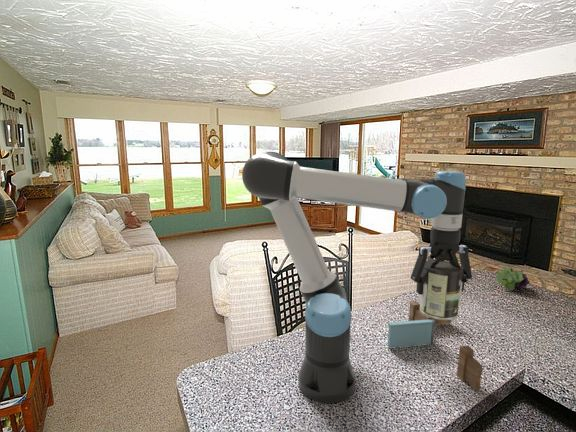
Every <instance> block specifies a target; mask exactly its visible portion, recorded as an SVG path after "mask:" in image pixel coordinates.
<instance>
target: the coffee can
mask: <svg viewBox="0 0 576 432" xmlns="http://www.w3.org/2000/svg"><path fill="white" fill-rule="evenodd" d="M427 261H428V260H426V263H427ZM426 263H425V264H426ZM424 269H426V270H428V278H427V280H426V282H425V283H426V284H427V293H426V305H425V306H422V305H421V304H420V303H419V304H420V311H421V312H422V313H423V314H424V315H426V316H428V317H431V318H434V319H438V320H451V321H452V320H455V319H457V318H458V316H459V314H458V313H459V306H460V304H459V296H460V286H461V277H462V271H463V268H462V267H461V265H460V266H459V267H455V266H453V265H451V264H450V262H449V261H446V260H445V261H440V262H439V263H438V264H437V265H436V266H435V267H434V268H428V267H427V266H425V265H424Z"/></svg>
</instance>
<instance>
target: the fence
mask: <svg viewBox="0 0 576 432" xmlns="http://www.w3.org/2000/svg"><path fill="white" fill-rule="evenodd" d="M428 319H433V320H435V326H436V325H445V324H446V325H447V324H448V325H449V324H451V323H452V320H438V319H434V318H431V317H428V316H426V315H424V314H423V313H422V312H421V311H420V303H418V301H410V302H409V313H408V321H415V320H428ZM458 351H459V352H458V362H457V371H456V376H457V378H458V379H460V380H461V381H462V382H467V383H468V385H469V386H470V387H472V389H474V391H480V390H481V388H480V387H481V380H482V375H483V374H482V373H483V365H482V364H481V363H480V362H479V361H478V360H476V358H474V354H475V353H474V352H475V350H474V349H472V348H471V347H470V346H469V345H462V346H461V345H460V347H459V350H458Z"/></svg>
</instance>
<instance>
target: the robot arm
mask: <svg viewBox="0 0 576 432" xmlns="http://www.w3.org/2000/svg"><path fill="white" fill-rule="evenodd" d="M466 177H467V176H466V174H465V173H464V172H462V171H454V170H453V171H452V170H443V171H442V170H438V171H436V172H435V174H434V178H404V177H402V178H390V177H389V178H388V177H380V176H375V175H374V176H373V175H367V174H360V173H359V174H358V173H351V172H350V173H349V172H343V171H342V172H341V171H336V170H328V169H320V168H313V167H307V166H301V165H299V163H298V161H294V160H289V159H287V157H285V155H283V154H281V153H279V152H275V151H267V152H260V153H257V154H256V153H255V154H254V155H252V156H251V157H249V158H248V159H247V160H246V162H245V163H244V166H243V167H242V173H241V178H242V183H243V185H244V187H245V189H246V190H247V191H248V192H249V193H250V194H252V195H253V196H255V197H257V198H258V199H259V202H260V204H261V206H262V207H264V208H266V209H268V210H269V211H270V214H271V216H272V218H273V220H274V222H275V225H276V226H277V229H278V231H279V234H280V235H281V237H282V240H283V242H284V245H285V247H286V250H287V251H288V254H289V256H290V258H291V260H292V262H293V265H294V267H295V270H296V271H297V274H298V276H299V278H300V281H301V284H300V286H299V291H300V293H301V295H302V298H303V300H304V302H305V310H304V318H305V336H304V338H305V340H304V341H305V346H304V348H305V352H304V353H305V354H304V357H303V361H302V363H301V365H300V369H299V372H298V387H299V389H300V390H301V392H302V393H303V394H304V395H305V396H306V397H308V398H309V399H311V400H313V401H316V402H319V403H322V404H323V403H324V404H336V403H341V402H343V401H346V400H347V399H349V398H350V397H351V396H352V395H353V393H354V392H355V388H356V377H355V372H354V369H353V366H352V363H351V359H350V350H351V346H350V345H351V323H352V318H353V316H352V311H351V310H352V309H351V305H350V303H349V302H348V296H347V293H346V290H345V287H343V285H342V284H341V283H340V281H339V279H338V277H337V275H336V273H335V272H334V271H331V270H329V269H328V267H327V264H326V262H325V259H324V257H323V255H322V252H321V250H320V248H319V245H318V242H317V240H316V238H315V236H314V234H313V231H312V229H311V226H310V225H309V222H308V220H307V218H306V216H305V213H304V211H303V208H302V206H301V204H300V202H299V199H306V200H313V201H319V202H326V203H335V204H340V205H341V204H342V205H348V206H355V207H364V208H371V209H379V210H384V211H392V212H399V213H405V214H412V215H416V216H418V217H419V218H424V219H431V221H430V224H431V226H432V227H431V228H430V236H429V237H430V238H429V240H430V244H429V245H428V246H426V247H425V246H422V245H421V246H419V247H418V255H417V258H416V261H415V264H414V267H413V269H412V273H411V274H410V279H411V281H413V282H414V283H416V293H417V294H418V297H417V298H418V300H417V302H418V303H419V304H421V305H422V306H425V305H426V293H427V284H426V283H425V282H426V280H427V278H428V270H426V269H424V265H425V266H427V267H428V268H434V267H435V266H436V265H437V264H438V263H439V262H440V261H448V262H450V264H451V265H453V266H455V267H459V266H461V267H462V268H463V271H462V277H461V286H460V296H459V305H460V304H461V301H462V300H461V299H462V293H463V292H464V290H465V283H468V281H469V280H471V279H473V274H472V269H471V268H472V267H471V263H470V257H469V251H470V247H469V246H467V245H464V244H460V245H459V243H460V241H461V235H462V231H461V229H462V223H463V222H462V221H463V213H464V211H463V209H464V203H465V193H466V190H467V189H466V188H467V187H466V185H467V184H466V181H467V178H466ZM457 253H458V256H459V259H458V256H457ZM426 261H427V263H426ZM459 262H460V263H459ZM425 263H426V264H425Z"/></svg>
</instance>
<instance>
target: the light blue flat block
mask: <svg viewBox="0 0 576 432" xmlns="http://www.w3.org/2000/svg"><path fill="white" fill-rule="evenodd" d="M387 325H388V330H387V331H388V333H387V334H388V335H387V347H388V348H389V349H394V348H395V349H396V348H402V347H403V348H405V347H416V346H426V345H427V346H428V345H434V339H435V328H436V325H435V320H433V319H428V320H415V321H409V320H403V321H392V322H390V321H389V322H388V323H387Z"/></svg>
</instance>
